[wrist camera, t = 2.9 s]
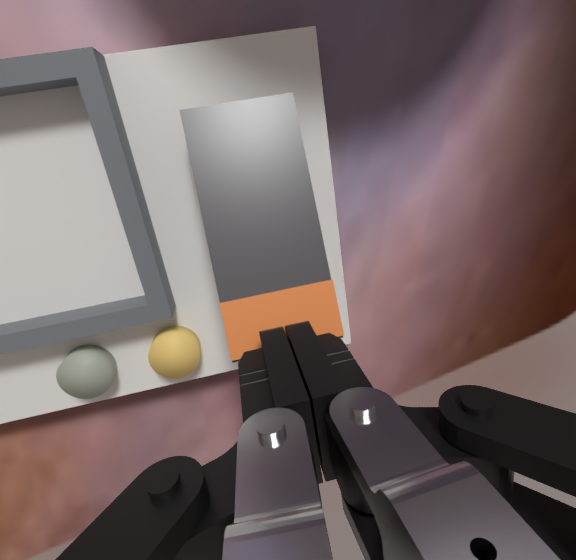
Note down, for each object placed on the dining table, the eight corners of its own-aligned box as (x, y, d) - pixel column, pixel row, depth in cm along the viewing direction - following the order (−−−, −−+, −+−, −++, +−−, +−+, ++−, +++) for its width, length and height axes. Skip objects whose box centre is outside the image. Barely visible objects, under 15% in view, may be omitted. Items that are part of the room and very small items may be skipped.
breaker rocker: (289, 107, 13) (293, 88, 12) (336, 333, 13) (345, 338, 12) (184, 123, 13) (178, 106, 11) (233, 356, 13) (232, 364, 11)
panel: (305, 38, 14) (327, 10, 11) (340, 327, 19) (362, 360, 16) (-189, 107, 13) (-312, 95, 10) (-23, 409, 17) (-73, 463, 14)
